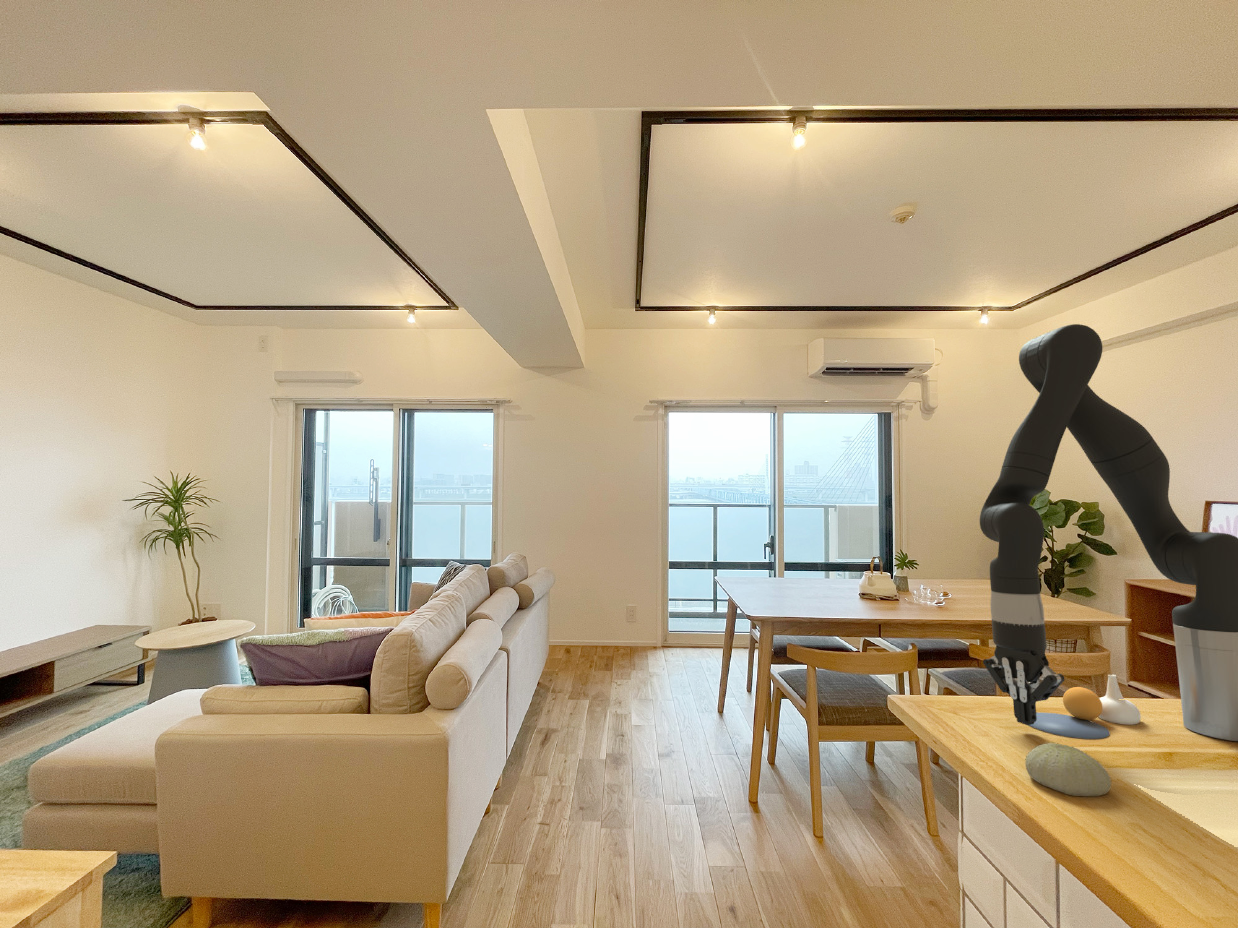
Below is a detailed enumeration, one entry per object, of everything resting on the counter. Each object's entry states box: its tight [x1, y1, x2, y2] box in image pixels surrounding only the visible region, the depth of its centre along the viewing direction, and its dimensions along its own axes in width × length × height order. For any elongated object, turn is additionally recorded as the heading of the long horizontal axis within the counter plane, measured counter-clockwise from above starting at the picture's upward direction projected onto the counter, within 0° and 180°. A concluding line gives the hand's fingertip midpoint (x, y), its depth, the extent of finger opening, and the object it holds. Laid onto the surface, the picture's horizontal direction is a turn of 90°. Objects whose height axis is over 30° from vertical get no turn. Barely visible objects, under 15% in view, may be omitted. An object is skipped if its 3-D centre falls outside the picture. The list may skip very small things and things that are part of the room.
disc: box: [1028, 712, 1111, 740], centre depth 98 cm, size 12×12×1 cm
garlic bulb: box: [1098, 674, 1142, 726], centre depth 101 cm, size 6×6×8 cm
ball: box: [1062, 686, 1102, 721], centre depth 101 cm, size 6×6×6 cm
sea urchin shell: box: [1024, 742, 1112, 797], centre depth 77 cm, size 9×8×8 cm
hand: (1025, 722), depth 95 cm, fingers closed
